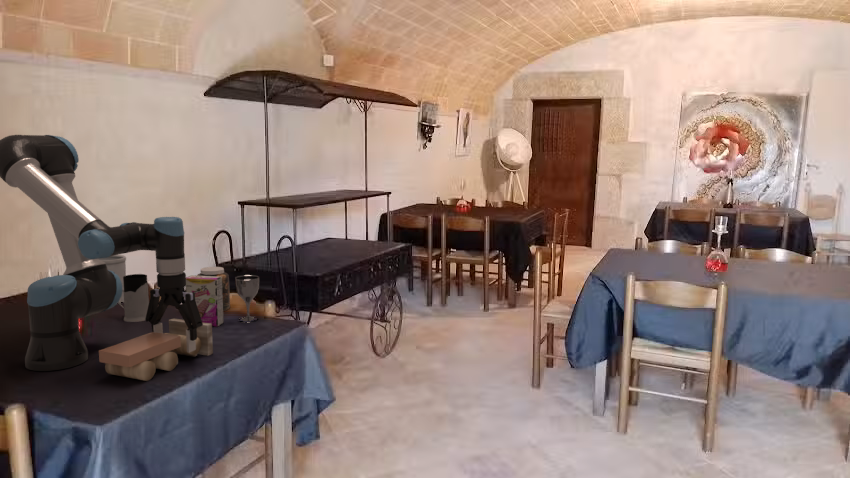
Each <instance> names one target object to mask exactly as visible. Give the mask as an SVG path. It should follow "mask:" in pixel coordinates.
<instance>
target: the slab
mask: <svg viewBox="0 0 850 478" xmlns="http://www.w3.org/2000/svg"><path fill="white" fill-rule="evenodd" d="M163 333H164V332H163ZM163 333H156V332H152V331H151V332H149V333H145V334H143V335H140V336H137V337H134V338H131V339H128V340H125V341H123V342H120V343H117V344H114V345H111V346H108V347H105V348H102V349H99V350H98V356H99V357H98V359H99V360H98V361H99V362H98V363H103V364H106V363H108V364H114V365H119V366H125V367H131V366H134V365H136V364H139V363H141V362H144V361H146V360H149V359H151V358H154V357H156V356H159V355H161V354H164V353H166V352H169V351H170V352H171V350H174V349H176V348H179V347H181V337H180V336H176V335H170V334H163Z"/></svg>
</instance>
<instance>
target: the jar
mask: <svg viewBox="0 0 850 478" xmlns="http://www.w3.org/2000/svg"><path fill="white" fill-rule="evenodd" d="M196 275H197V276H218V277H222V291H223V312H224V311H227V310H229V309H231V302H230V301H231V299H230V297H231V296H230V295H231V294H230V291H231V290H230V277H229V276H230V275H229V274H228V273H227V272H225V269H224V267H222V266H206V267H201V268H200V273H197V274H196Z"/></svg>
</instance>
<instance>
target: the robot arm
mask: <svg viewBox="0 0 850 478" xmlns="http://www.w3.org/2000/svg"><path fill="white" fill-rule="evenodd" d="M78 163H79V154H78V151H77V149H76V148H75V146H74V145H73V143H72V142H71V141H69V140H68V139H66V138H64V137H63V136H59V135H51V134H44V135H40V134H39V135H38V134H11V135H7V136H5V137H3V138H1V139H0V179H1V180H3V181H4V183H6V184H7V185H8V186H10V187H12V188H18V189H19V190H20V191H21V192H23V193H24V194H25V195H26V196H27V197H28V198H30V199H31V200H32V201H33V202H35V204H36V205H38V206H39V207H40V208H41V210H43V211H44V212H46V214H47V216H48V218H49V221H50V224H51V227H52V230H53V233H54V235H55V239H56V241H57V244H58V247H59V251H60V254H61V256H62V259H63V261H64V262H63V263H64V264H65V268H66V269H65V271H64V272H63V274H60V275H58V274H57V275H53V276H45V277H43V278H39V279H37V280H35V281H33V282H32V283H31V284H29V286H28V288H27V298H26V302H27V308H28V320H29V333H30V334H29V335H30V340H29V344H28V347H27V350H26V353H25V357H24V364H25V365H24V366H25V368H26V369H27V370H30V371H35V372H51V371H58V370H60V371H61V370H64V369H69V368H73V367H76V366H80V365H81V364H83V363H85V362H86V361H87V360H88V359H89V351H88V348H87V346H86V343H85V341H84V339H83V338H82V335H81V332H80V323H79V321H80V319H82V318H86V317H88V316H93V315H95V314H99V313H101V314H102V313H103V312H107V311H108V310H110V309H112V308H114V307H115V306H117V305H118V304H117V303H118V302H119V300H120V298H121V296H122V282H121V280H120V278H119V276H118V275H117V274H115V272H113V271H110V270H108V269H107V266H106V263H104V262H102V261H100V260H99V258H100V259H101V258H107V257H110V256H114V255H125V254H128V253H133V252H138V251H151V252H152V251H154V253H155V264H156V265H155V266H156V272H157V274H156V284H157V288H153V289H150V290H149V295H150V297H149V306H148V310H147V314H146V318H145V321H146V323H150V325H151V332H156V333H164V332H163V331H164V330H163V329H164V328H163V322H162V319H163V316H164V314H165V313H166V310H167V309H168V307H169V306H171V307H175V309H176V310H178V312H179V313H180V316H181V317H182V320H184V321H185V323H186V325H187V327H188V329H187V330H186V342H187V352H188V353H190V352H192V351H194V350H196V341H195V340H196V339H197V328H198V327H200V326H202V325H203V323H202V320H201V317H200V314H199V311H198V307H197V304H196V301H195V293H194V292H191V293H187V292H186V291H185V285H186V277H187V275H186V273H185V271H186V256H185V230H184V221H183V219H182V218H180V217H179V216H162V217H161V216H160V217H156V218H155V219H154V220H153V223H144V222H135V221H133V222H123V223H121V224H119V225H117V226H113V227H112V226H109V225H108V224H106V223H105V222H104V221H103V220H102V219H101V218H99V217H98V216H97V215H96V214H95V213H94V212H92V211H91V210H90V209H89V208H88V207H87V206H85V205H84V204H83V203H82V202H80V200H79V199H78V197H77V194H76V191H75V187H74V185H73V181H74V179H75V178H76V173H75V171H76V170H77V169H78V166H79V164H78ZM191 323H192V325H191Z"/></svg>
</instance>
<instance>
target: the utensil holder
mask: <svg viewBox="0 0 850 478" xmlns="http://www.w3.org/2000/svg"><path fill="white" fill-rule="evenodd" d="M99 260H100V261H102V262H104V263H106V266H107V269H108V270H110V271H113V272H115V274H117V275H118V276H119V278H120V280H121V282H122V289H123V290H124V282H123V277H124V276H126V274H127V273H126V261H127V257H126V255H125V254H118V255H114V256H110V257H107V258H101V259H100V258H99ZM121 302H123V303H124V292H123V291H122V296H121V298H120V300H119V303H121ZM121 304H122V303H121Z"/></svg>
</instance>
